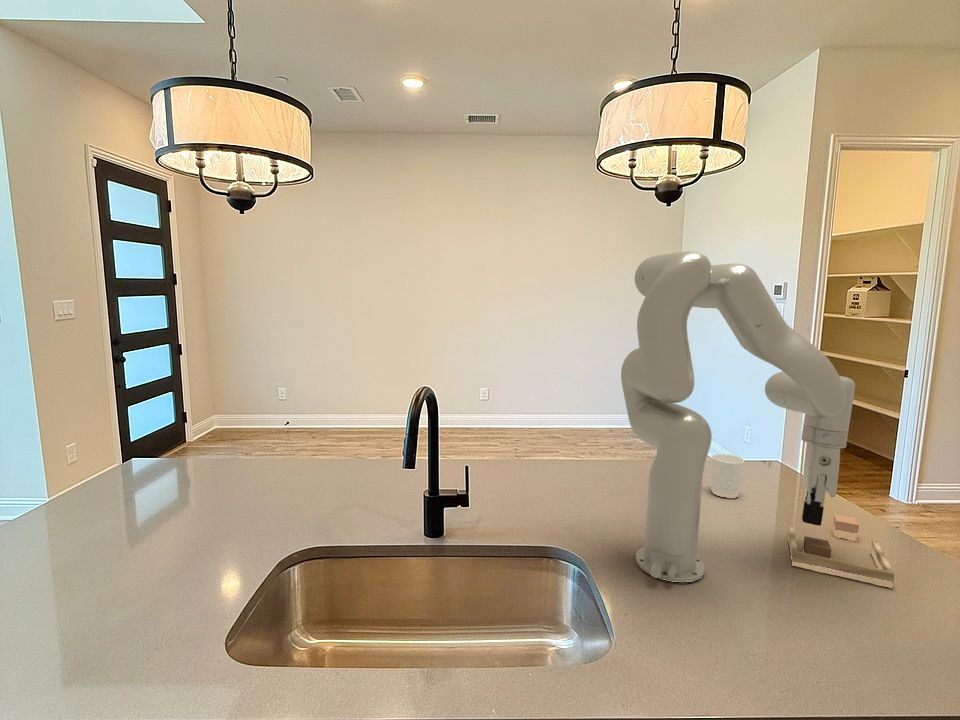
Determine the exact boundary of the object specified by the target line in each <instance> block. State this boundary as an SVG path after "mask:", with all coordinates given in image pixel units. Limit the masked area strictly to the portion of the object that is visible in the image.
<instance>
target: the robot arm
mask: <svg viewBox="0 0 960 720" xmlns="http://www.w3.org/2000/svg"><path fill="white" fill-rule="evenodd" d="M634 273H635V274H634V284H635V287H636V289H637V290H638V292H639V293H640V295H642V296H644V299H643V301H642V304H641V306H640V309H639V311H638V314H637V318H636V319H637V320H636V331H637V340H638V347H637V348H635V349H633V350H631V352H629V353H628V354H627V355H626V357H625V358H624V361H623V363H622V366H621V372H620V379H621V380H620V381H621V386H622V392H623V396H624V401H625V407H626V412H627V418H628V421H629V424H630V427H631V430H632V432H633V434H634V435H635V436H636V437H637V438H638V439H640V440H641V441H642V442H644V443H646V444H647V445H649V446H651V447H652V448H655V450H656V454H655V457H654V460H653V462H652V463H651V466H650V468H649V472H648V483H647V486H648V487H647V488H648V489H647V499H646V501H647V502H646V503H647V504H646V515H645V518H646V519H645V532H644V533H645V535H644V546H643V547H640V548H639V549H638V550H637V551H636V553H635V563H636V562H637V563H636V565H637V564H638V565H639V566H640V567H641V568H642V569H643V570H644V571H646V572H648V573H649V574H651V577H652V578H655V579H657V578H661V579H666V580H670V581H678V582H679V581H680V582H686V581H693V580H697V579H699V578H701V577H702V576H703V575H705V571H706V569H705V564H704V562H703V561H702V560H701V559H700V558H699V557H698V556H697V554H698V545H699V544H698V543H699V530H700V519H701V507H702V506H701V504H702V493H703V492H702V488H703V481H704V480H703V478H704V472H705V466H706V461H707V458H708V454H709V452H710V448H711V445H712V429H711V426H710V425H709V423H708V422H707V420H706V419H705V417H704V416H702V414H700V413H698V412H696V411H695V410H692V409H691V408H689V407H685V406H682V405H680V404H678V403H681V402H683V401H686V400H687V399H689V397H690V396H691V395H692V394H693V391H694V388H695V372H694V368H693V367H694V366H693V361H692V353H691V350H690V343H689V337H688V318H689V315H690V312H691V310H692V308H702V309H716V310H718V311H719V313H720V314H721V316H722V317H723V319H724V320H725V323H726V324H727V326H728V327H729V328H730V330H731V332H732V333H733V335H734V337H735V339H737V341H738V343H739V345H740V346H741V347H742V348H743V350H745V351H747V352H748V353H749V354H752V355H753V356H754V357H756V358H758V359H759V360H762V361H763V362H766V363H768V364H770V365H772V366H774V367H775V368H777V369H779V370H780V371H781V372H780V371H779V372H776V373H774V374H772V375H771V376H770V377H769V378H768V379H767V380H766V383H765V385H764V393H765V396H766V397H767V399H768V400H769V401H770V402H771V403H772V404H773V405H775V406H777V407H780V408H782V409H786V410H789V411H794V412H798V413H801V414H804V418H803V424H802V432H801V437H800V440H801V441H803V442H804V443H806V448H805V455H804V463H803V464H804V465H803V474H802V481H803V484H804V488H805V491H806V492H805V499H804V501H803V508H802V515H801V519H802V522H803V523H805V524H810V525H813V526H821V525H822V521H823V514H824V509H825V508H824V505H825V499H826V493H828V496H830V497H831V498H836V497H837V491H838V490H837V489H838V483H839V482H838V480H839V471H840V462H841V449H845V448H847V442H848V435H849V430H850V428H849V427H850V422H851V417H852V410H853V402H854V396H855V390H856V382H855V381H854V380H853V379H851V378H850V377H847V376H841V375H839V373H838V371H837V370H836V368H835V367H834V365H833V363H832V362H831V361H830V359H829V358H828V357H827V356H826V355H825V354H824V353H823V352H822V351H821V350H820V349H819V348H817V347H816V346H815V345H814V344H812V343H811V342H810V341H809V340H807V338H806V337H804V336H802V334H800V333H799V332H797V331H796V330H794V329H793V328H792V327H791V326H789V324H787V322H786V320H785V319H784V317H783V316H782V314H781V313H780V311H779V309H778V308H777V306H776V304H775V302H774V300H773V299H772V297H771V295H770V294H769V292H768V291H767V288H766V287H765V285H764V284H763V282H762V280H761V278H760V277H759V276H758V274H757V272H756V271H755V270H754V268H752V267H750V266H748V265H747V264H743V263H723V264H713V265H712V263H711V261H710V259H709V258H708V257H707V256H706V255H704V254H703V253H701V252H698V251H697V252H696V251H678V252H671V253H665V254H659V255H652V256H650V257H647V258H646V259H644V260H643V261H642V262H640V264H639V265H638V267H637V269H636V270H635V272H634ZM638 565H637V566H638ZM639 566H638V567H639ZM640 567H639V568H640ZM641 568H640V569H641ZM642 569H641V570H642ZM643 570H642V571H643ZM644 571H643V572H644ZM649 574H648V575H649ZM703 577H704V576H703ZM703 577H702V578H703ZM702 578H701V579H702Z"/></svg>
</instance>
